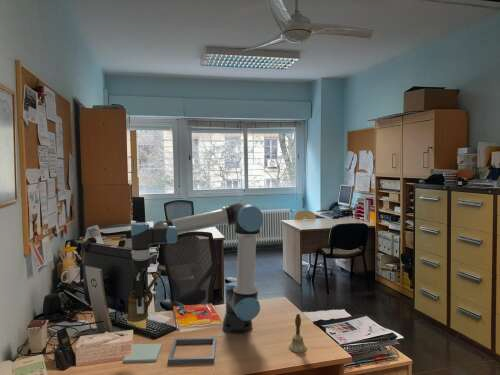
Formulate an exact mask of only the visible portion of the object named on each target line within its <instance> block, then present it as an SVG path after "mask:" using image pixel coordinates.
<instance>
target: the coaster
mask: <svg viewBox="0 0 500 375" xmlns="http://www.w3.org/2000/svg"><path fill="white" fill-rule="evenodd" d="M131 345H132V354H131V355H129V356H126V355H125V356H124V357H123V360H122V362H123V363H147V362H154V363H155V362H158V359H159V355H160V353H161V350H162V348H163V343H143V344H142V343H140V344H139V343H138V344H133V343H132V344H131Z"/></svg>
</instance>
